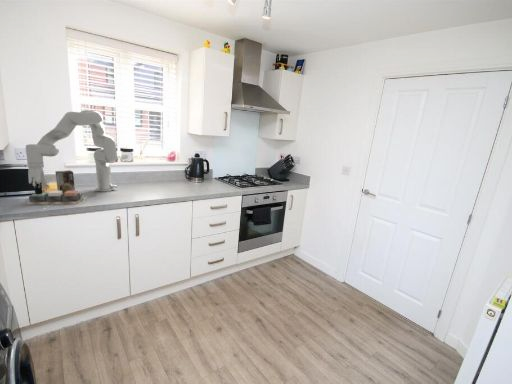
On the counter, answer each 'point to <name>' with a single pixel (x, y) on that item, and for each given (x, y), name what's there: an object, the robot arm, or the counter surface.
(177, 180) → the counter surface
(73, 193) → the terracotta button
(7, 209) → the counter surface
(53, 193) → the cream button
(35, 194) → the sage button
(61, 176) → the coffee box
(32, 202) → the button panel
